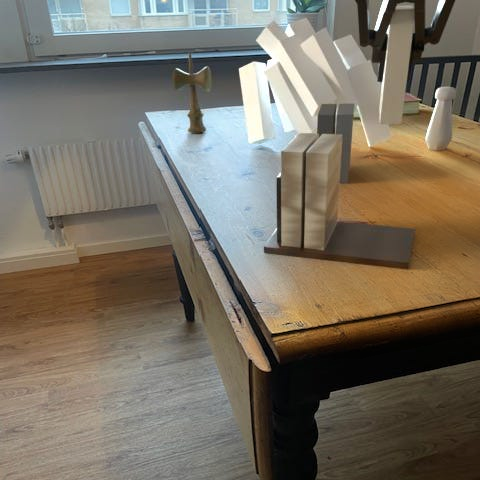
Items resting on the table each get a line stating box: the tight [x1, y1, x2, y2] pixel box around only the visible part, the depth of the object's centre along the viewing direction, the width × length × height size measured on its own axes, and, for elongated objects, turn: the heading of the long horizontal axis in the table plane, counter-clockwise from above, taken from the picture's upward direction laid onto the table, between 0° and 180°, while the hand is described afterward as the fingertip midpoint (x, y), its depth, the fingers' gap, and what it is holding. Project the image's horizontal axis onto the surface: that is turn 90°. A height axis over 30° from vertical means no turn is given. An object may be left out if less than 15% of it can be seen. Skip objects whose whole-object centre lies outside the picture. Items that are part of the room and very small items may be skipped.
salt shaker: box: [425, 86, 457, 152], centre depth 113 cm, size 6×6×13 cm
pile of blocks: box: [238, 17, 393, 147], centre depth 123 cm, size 35×30×35 cm
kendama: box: [172, 52, 212, 134], centre depth 136 cm, size 6×10×20 cm, turn 80°
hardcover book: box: [353, 92, 423, 120], centre depth 149 cm, size 12×21×4 cm, turn 95°
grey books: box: [316, 104, 354, 185], centre depth 101 cm, size 6×10×13 cm, turn 168°
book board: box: [263, 132, 416, 270], centre depth 73 cm, size 21×12×15 cm, turn 70°
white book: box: [379, 4, 415, 125], centre depth 72 cm, size 3×10×14 cm, turn 167°
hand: (393, 73), depth 75 cm, fingers closed on white book, 3 cm apart
